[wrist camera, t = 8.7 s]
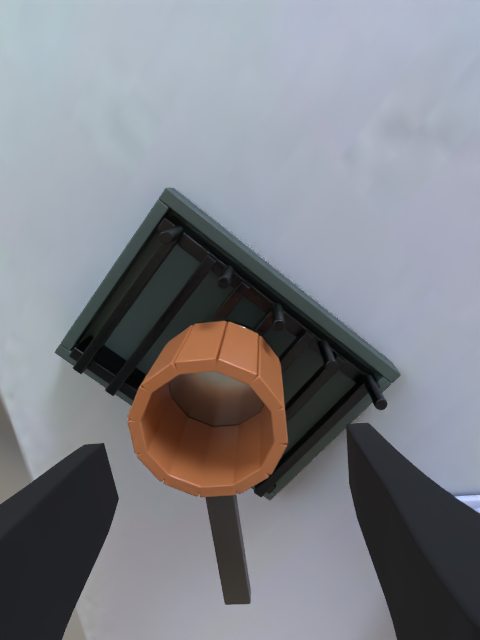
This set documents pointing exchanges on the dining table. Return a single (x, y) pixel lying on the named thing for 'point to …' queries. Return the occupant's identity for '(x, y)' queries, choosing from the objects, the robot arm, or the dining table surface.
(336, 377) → the dish rack
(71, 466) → the robot arm
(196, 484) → the saucepan
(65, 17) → the dining table surface
